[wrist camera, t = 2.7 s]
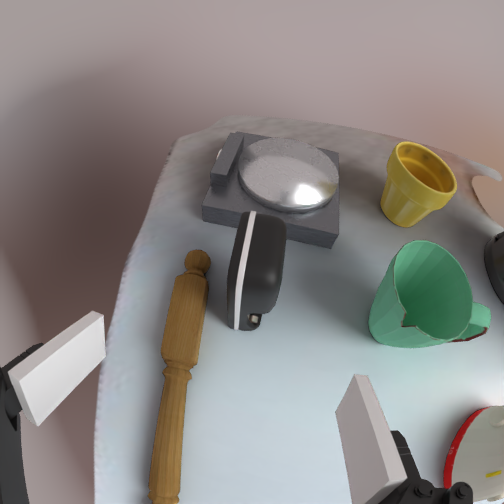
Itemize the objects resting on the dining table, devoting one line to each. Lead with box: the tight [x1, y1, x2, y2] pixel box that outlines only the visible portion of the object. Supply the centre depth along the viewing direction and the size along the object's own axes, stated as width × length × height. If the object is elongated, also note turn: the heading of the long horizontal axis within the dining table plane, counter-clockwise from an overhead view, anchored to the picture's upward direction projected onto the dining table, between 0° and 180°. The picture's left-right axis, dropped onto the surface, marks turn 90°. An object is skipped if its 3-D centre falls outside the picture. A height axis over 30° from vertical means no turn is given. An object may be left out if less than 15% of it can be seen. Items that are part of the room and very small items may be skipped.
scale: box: [202, 132, 339, 249], centre depth 36 cm, size 16×16×5 cm
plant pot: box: [380, 142, 457, 228], centre depth 34 cm, size 10×10×10 cm
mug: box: [368, 240, 491, 348], centre depth 24 cm, size 15×10×10 cm
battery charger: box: [227, 211, 287, 331], centre depth 24 cm, size 7×4×11 cm, turn 171°
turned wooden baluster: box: [148, 250, 211, 504], centre depth 22 cm, size 3×3×30 cm
